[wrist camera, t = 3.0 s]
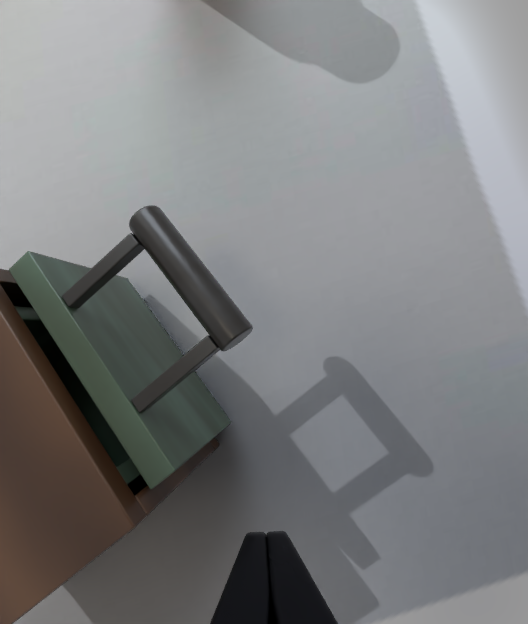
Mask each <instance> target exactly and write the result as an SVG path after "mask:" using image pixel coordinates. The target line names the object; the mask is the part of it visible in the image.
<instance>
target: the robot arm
mask: <svg viewBox="0 0 528 624" xmlns="http://www.w3.org/2000/svg"><path fill="white" fill-rule="evenodd" d="M210 624H338V623H337V621H336V619H335V618H334V616H333V614H332V612H331V611H330V609H329V607H328V605H327V604H326V602H325V600H324V598H323V596H322V595H321V593H320V591H319V589H318V588H317V586H316V584H315V582H314V581H313V579H312V577H311V575H310V574H309V572H308V570H307V568H306V566H305V565H304V563H303V561H302V559H301V558H300V556H299V554H298V552H297V551H296V549H295V547H294V545H293V544H292V542H291V540H290V538H289V537H288V535H287V534H286V532H284V531H273V532H268V533H267V535H266V534H265V533H264V532H250V533H247V534H246V536H245V538H244V541H243V543H242V546H241V548H240V551H239V553H238V556H237V558H236V560H235V563H234V565H233V568H232V570H231V573H230V575H229V578H228V580H227V583H226V585H225V588H224V590H223V593H222V595H221V598H220V600H219V603H218V605H217V608H216V610H215V613H214V615H213V618H212V620H211V623H210Z"/></svg>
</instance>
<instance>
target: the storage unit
mask: <svg viewBox="0 0 528 624" xmlns="http://www.w3.org/2000/svg"><path fill="white" fill-rule="evenodd" d="M14 306H19V307H30V308H33V307H32V305H31V304H30V302H29V301H28V299H27V298H26V296H25V295H24V293H23V291H22V290H21V288H20V287H19V285H18V284H17V282H16V281H15V279H14V278H13V276H12V274H11V273H10V271H9V270H4V269H0V624H13V623H14V622H15V621H16V620H18V619H19V618H20V617H22V616H23V615H24V614H25V613H27V612H28V611H29V610H31V609H32V608H33V607H34V606H36V605H37V604H38V603H40V602H41V601H42V600H43V599H45V598H46V597H47V596H48V595H50V594H51V593H52V592H54V591H55V590H56V589H57V588H59V587H60V586H61V585H63V584H64V583H65V582H66V581H68V580H69V579H70V578H71V577H73V576H74V575H75V574H77V573H78V572H79V571H80V570H82V569H83V568H84V567H86V566H87V565H88V564H89V563H91V562H92V561H93V560H94V559H96V558H97V557H98V556H100V555H101V554H102V553H103V552H105V551H106V550H107V549H109V548H110V547H111V546H112V545H114V544H115V543H116V542H117V541H119V540H120V539H121V538H123V537H124V536H125V535H126V534H128V533H129V532H130V531H132V530H133V529H134V528H135V527H136V526H137V525H138V524H139V523H140V522H141V521H142V520H143V519H144V518H145V517H146V516H148V515H149V514H150V513H151V512H152V511H153V510H154V509H155V508H156V507H157V506H158V505H159V504H160V503H161V502H162V501H163V500H164V499H165V498H166V497H167V496H168V495H169V494H170V493H171V492H172V491H173V490H174V489H175V488H176V487H177V486H178V485H179V484H180V483H181V482H182V481H183V480H184V479H185V478H187V477H188V476H189V475H190V474H191V473H192V472H193V471H194V470H195V469H196V468H197V467H198V466H199V465H200V464H201V463H202V462H203V461H204V460H205V459H206V458H207V457H208V456H209V455H210V454H211V453H212V452H213V451H214V450H215V449H216V448H217V447H218V446H219V443H218V442H217V440H216V439H215V437H214V438H213V439H212V440H211V441H209V442H208V443H207V444H206V445H205V446H204V447H203V448H201V449H200V450H199V451H198V452H197V453H196V454H194V455H193V456H192V457H191V458H190V459H189V460H187V461H186V462H185V463H184V464H183V465H182V466H181V467H179V468H178V469H177V470H176V471H175V472H173V473H172V474H171V475H170V476H168V477H167V478H166V479H165V480H163V481H162V482H161V483H160V484H158V485H157V486H156V487H155V488H153V489H150V488H149V486H148V485H147V483H146V482H145V480H144V479H143V477H142V478H141V479H139V480H138V481H137V482H136V483H134V484H133V485H132V486H131V487H128V485H127V483H126V482H125V480H124V479H123V477H122V475H121V474H120V472H119V471H118V469H117V468H116V466H115V464H114V463H113V461H112V460H111V458H110V457H109V455H108V453H107V452H106V450H105V449H104V447H103V446H102V444H101V442H100V441H99V439H98V438H97V436H96V434H95V433H94V431H93V430H92V428H91V427H90V425H89V423H88V422H87V420H86V419H85V417H84V416H83V414H82V412H81V411H80V409H79V408H78V406H77V405H76V403H75V401H74V400H73V398H72V397H71V395H70V393H69V392H68V390H67V389H66V387H65V386H64V384H63V382H62V381H61V379H60V378H59V376H58V375H57V373H56V371H55V370H54V368H53V367H52V365H51V364H50V362H49V360H48V359H47V357H46V356H45V354H44V352H43V351H42V349H41V348H40V346H39V345H38V343H37V341H36V340H35V338H34V337H33V335H32V334H31V332H30V330H29V329H28V327H27V326H26V324H25V323H24V321H23V319H22V318H21V316H20V315H19V313H18V311H17V310H16V308H15V307H14Z"/></svg>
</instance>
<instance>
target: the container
mask: <svg viewBox="0 0 528 624" xmlns="http://www.w3.org/2000/svg"><path fill="white" fill-rule="evenodd" d="M129 227H130V230H131V231H132V232H133V234H132V233H130V234H129V235H128V236H126V237H125V238H124V239H123V240H122V241H121V242H120V243H119V244H118V245H117V246H116V247H114V248H113V249H112V250H111V251H110V252H109V253H108V254H107V255H106V256H105V257H104V258H102V259H101V260H100V261H99V262H98V263H97V264H96V265H95V266H94V267H93V268H88V267H85V266H81V265H77V264H74V263H70V262H66V261H63V260H59V259H56V258H52V257H48V256H45V255H41V254H37V253H34V252H30V251H28V252H27V253H26V254H25V255H23V256H22V257H21V258H20V259H19V260H18V261H17V262H16V263H15V264H14V265H13V266H12V267H11V268H10V269H9V271H10V273H11V274H12V276H13V278H14V279H15V281H16V282H17V284H18V285H19V287H20V288H21V290H22V291H23V293H24V295H25V296H26V298H27V299H28V301H29V302H30V304H31V305H32V307H33V308H30V307H19V306H14V307H15V308H16V310H17V311H18V313H19V315H20V316H21V318H22V319H23V321H24V323H25V324H26V326H27V327H28V329H29V330H30V332H31V334H32V335H33V337H34V338H35V340H36V341H37V343H38V345H39V346H40V348H41V349H42V351H43V352H44V354H45V356H46V357H47V359H48V360H49V362H50V364H51V365H52V367H53V368H54V370H55V371H56V373H57V375H58V376H59V378H60V379H61V381H62V382H63V384H64V386H65V387H66V389H67V390H68V392H69V393H70V395H71V397H72V398H73V400H74V401H75V403H76V405H77V406H78V408H79V409H80V411H81V412H82V414H83V416H84V417H85V419H86V420H87V422H88V423H89V425H90V427H91V428H92V430H93V431H94V433H95V434H96V436H97V438H98V439H99V441H100V442H101V444H102V446H103V447H104V449H105V450H106V452H107V453H108V455H109V457H110V458H111V460H112V461H113V463H114V464H115V466H116V468H117V469H118V471H119V472H120V474H121V475H122V477H123V479H124V480H125V482H126V483H127V485H128V487H131V486H132V485H133V484H134V483H136V482H137V481H138V480H139V479H141V478H142V477H143V479H144V480H145V482H146V483H147V485H148V486H149V488H150V489H153V488H155V487H156V486H157V485H158V484H160V483H161V482H162V481H163V480H165V479H166V478H167V477H168V476H170V475H171V474H172V473H173V472H175V471H176V470H177V469H178V468H179V467H181V466H182V465H183V464H184V463H185V462H186V461H187V460H189V459H190V458H191V457H192V456H193V455H194V454H196V453H197V452H198V451H199V450H200V449H201V448H203V447H204V446H205V445H206V444H207V443H208V442H209V441H211V440H212V439H213V438H214V437H215V436H216V435H218V434H219V433H220V432H221V431H222V430H223V429H225V428H226V427H227V426H228V425H229V424H230V423H231V421H230V420H229V418H228V417H227V416H226V414H225V413H224V411H223V410H222V409H221V407H220V406H219V404H218V403H217V402H216V400H215V399H214V398H213V396H212V395H211V393H210V392H209V391H208V389H207V388H206V386H205V385H204V384H203V382H202V381H201V380H200V378H199V377H198V375H197V374H196V373H195V370H196V369H197V368H199V367H200V366H201V365H202V364H203V363H205V362H206V361H207V360H208V359H209V358H211V357H212V356H213V355H214V354H215V353H217V352H218V351H219V350H221V351H227V350H229V349H231V348H232V347H234V346H235V345H237V344H238V343H239V342H241V341H242V340H243V339H244V338H246V337H247V336H248V335H249V334H250V332H251V331H252V329H253V327H252V325H251V324H250V322H249V321H248V320H247V319H246V317H245V316H244V315H243V314H242V312H241V311H240V310H239V308H238V307H237V306H236V305H235V303H234V302H233V301H232V299H231V298H230V297H229V296H228V294H227V293H226V292H225V291H224V289H223V288H222V287H221V285H220V284H219V283H218V282H217V280H216V279H215V278H214V276H213V275H212V274H211V273H210V271H209V270H208V269H207V268H206V266H205V265H204V264H203V262H202V261H201V260H200V259H199V257H198V256H197V255H196V253H195V252H194V251H193V250H192V248H191V247H190V246H189V245H188V243H187V242H186V241H185V239H184V238H183V237H182V236H181V234H180V233H179V232H178V230H177V229H176V228H175V227H174V225H173V224H172V223H171V222H170V220H169V219H168V218H167V216H166V215H165V214H164V213H163V211H162V210H161V209H160V208H159V207H157V206H146V207H144V208H142V209H140V210H138V211H137V212H136V213H135V214H134V215H133V216H132V218H131V219H130V222H129ZM144 249H145V250H146V251H147V252H148V254H149V255H150V256H151V258H152V259H153V260H154V262H155V263H156V264H157V266H158V267H159V268H160V270H161V271H162V272H163V274H164V275H165V276H166V278H167V279H168V280H169V282H170V283H171V284H172V286H173V287H174V288H175V290H176V291H177V292H178V294H179V295H180V296H181V298H182V299H183V300H184V302H185V303H186V304H187V306H188V307H189V308H190V310H191V311H192V312H193V314H194V315H195V316H196V318H197V319H198V320H199V322H200V323H201V324H202V326H203V327H204V328H205V330H206V331H207V332H208V334H209V335H210V336H206V337H205V338H204V339H203V340H201V341H200V342H199V343H198V344H197V345H195V346H194V347H193V348H192V349H191V350H190V351H188V352H187V353H186V354H185V355H184V356H183V355H182V353H181V352H180V351H179V349H178V348H177V346H176V345H175V344H174V342H173V341H172V339H171V338H170V337H169V335H168V334H167V333H166V331H165V330H164V328H163V327H162V326H161V324H160V323H159V321H158V320H157V319H156V317H155V316H154V315H153V313H152V312H151V310H150V309H149V308H148V306H147V305H146V304H145V302H144V301H143V299H142V298H141V297H140V295H139V294H138V292H137V291H136V290H135V288H134V287H133V286H132V284H131V283H130V281H129V280H128V279H127V278H124V277H121V276H117V275H116V274H117V273H118V272H120V271H121V270H122V269H123V268H124V267H125V266H126V265H127V264H128V263H130V262H131V261H132V260H133V259H134V258H135V257H136V256H137V255H138V254H139V253H141V252H142V251H143V250H144Z"/></svg>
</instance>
